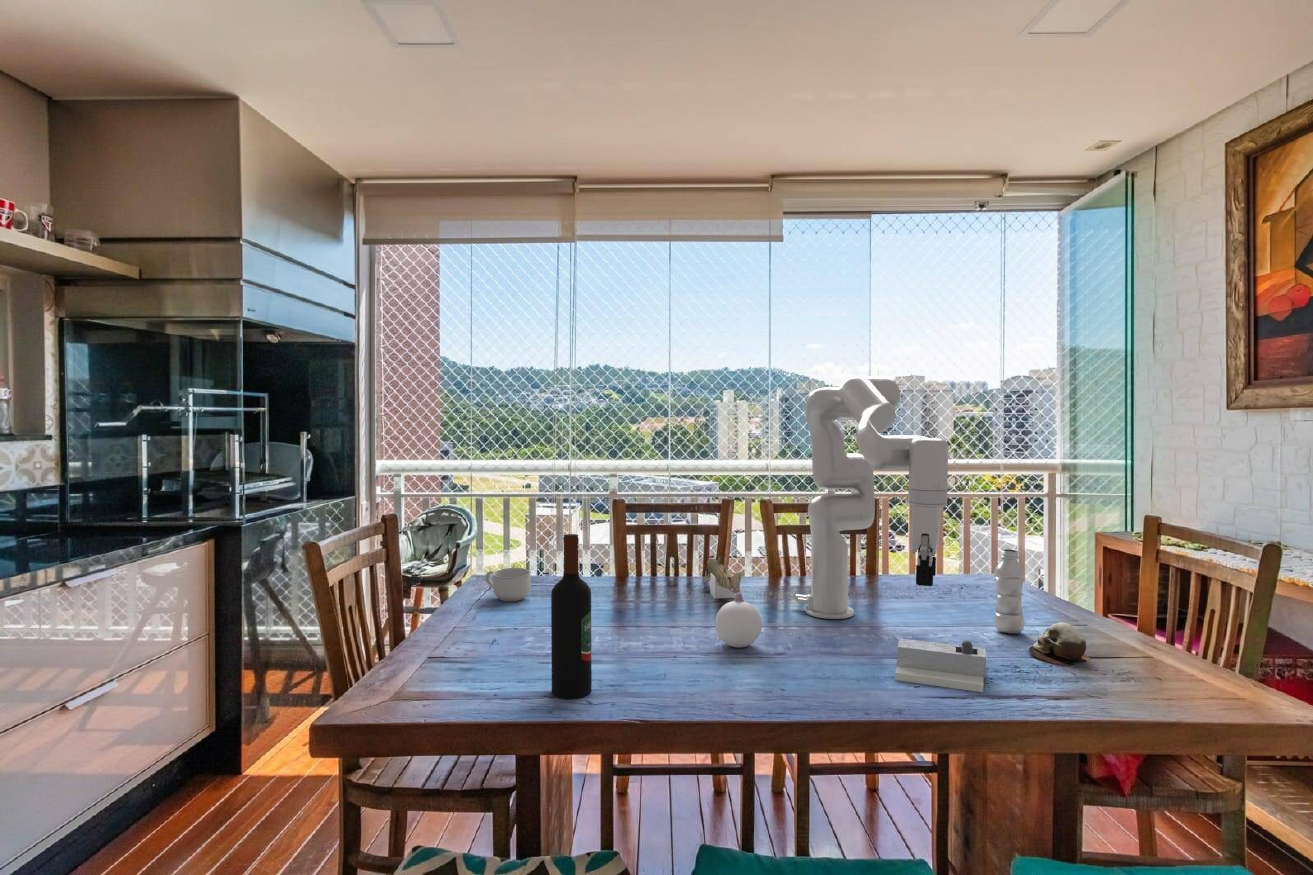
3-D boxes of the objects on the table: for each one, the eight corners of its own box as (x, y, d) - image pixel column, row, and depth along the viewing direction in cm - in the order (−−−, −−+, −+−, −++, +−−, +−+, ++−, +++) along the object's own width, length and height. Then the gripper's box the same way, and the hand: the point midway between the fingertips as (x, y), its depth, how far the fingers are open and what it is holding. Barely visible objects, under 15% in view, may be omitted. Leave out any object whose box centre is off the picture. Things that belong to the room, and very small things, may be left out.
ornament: (735, 636, 173) (735, 586, 172) (770, 646, 166) (770, 594, 165) (706, 646, 166) (706, 593, 165) (741, 656, 158) (742, 602, 158)
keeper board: (895, 680, 144) (895, 642, 144) (901, 658, 157) (902, 624, 157) (983, 692, 138) (983, 653, 138) (982, 668, 151) (983, 633, 150)
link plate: (896, 666, 148) (897, 646, 148) (899, 657, 153) (899, 638, 153) (985, 677, 141) (985, 657, 141) (985, 668, 147) (985, 648, 147)
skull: (1013, 648, 160) (1033, 610, 163) (1037, 675, 164) (1057, 637, 167) (1064, 663, 150) (1085, 622, 153) (1088, 691, 153) (1109, 650, 156)
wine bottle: (552, 684, 142) (552, 532, 141) (591, 683, 142) (591, 531, 142) (550, 699, 134) (549, 538, 133) (591, 698, 135) (590, 538, 134)
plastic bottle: (1027, 637, 172) (1029, 553, 171) (997, 635, 173) (998, 552, 172) (1020, 629, 178) (1021, 548, 177) (990, 628, 179) (991, 547, 179)
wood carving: (723, 614, 192) (723, 572, 192) (697, 584, 227) (697, 548, 226) (756, 613, 193) (756, 571, 193) (725, 583, 228) (725, 547, 228)
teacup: (538, 597, 210) (538, 570, 210) (512, 605, 201) (512, 577, 201) (503, 591, 217) (503, 564, 217) (476, 599, 208) (476, 571, 208)
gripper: (911, 492, 159) (910, 569, 159) (904, 501, 143) (902, 587, 144) (948, 494, 156) (947, 573, 156) (945, 504, 140) (943, 591, 141)
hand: (926, 580), depth 150 cm, fingers open, 9 cm apart
